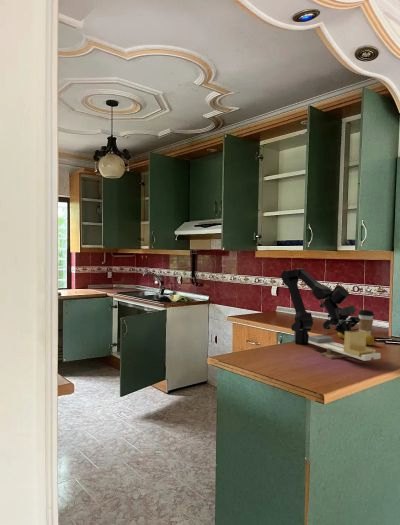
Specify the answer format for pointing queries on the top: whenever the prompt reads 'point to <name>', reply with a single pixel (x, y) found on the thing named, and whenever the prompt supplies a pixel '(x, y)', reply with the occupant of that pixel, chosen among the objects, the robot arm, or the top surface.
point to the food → (368, 338)
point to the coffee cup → (366, 320)
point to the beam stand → (333, 354)
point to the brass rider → (356, 343)
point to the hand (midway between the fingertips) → (351, 339)
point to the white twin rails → (338, 347)
